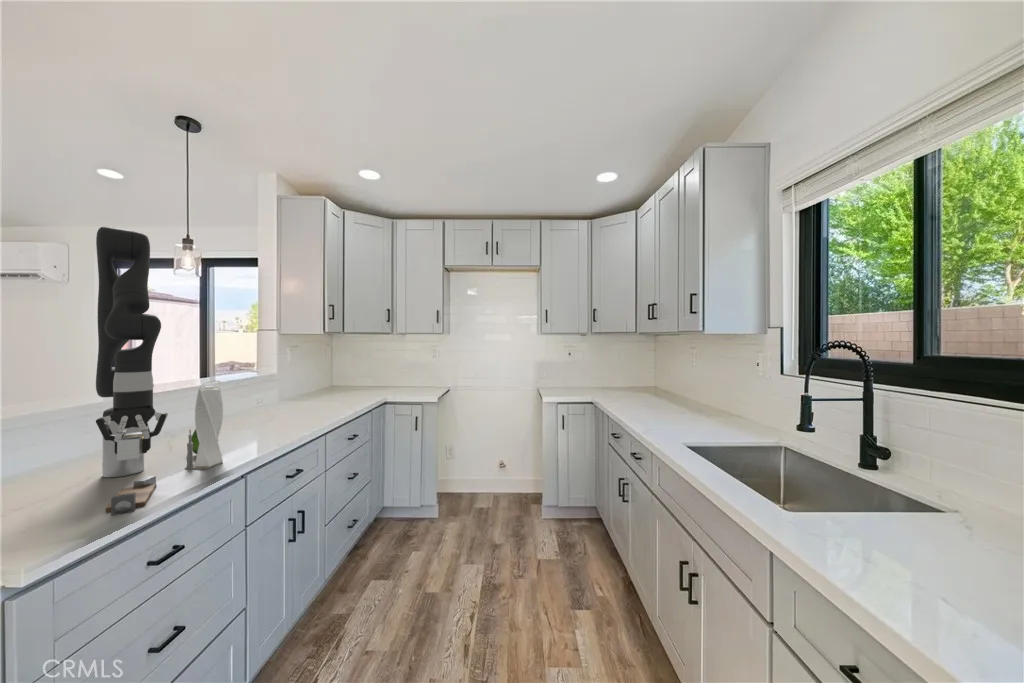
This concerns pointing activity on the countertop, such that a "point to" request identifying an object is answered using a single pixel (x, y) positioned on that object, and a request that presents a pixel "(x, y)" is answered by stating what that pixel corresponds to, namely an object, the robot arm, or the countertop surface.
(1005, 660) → the countertop surface
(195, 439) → the avocado
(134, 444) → the gray and yellow block
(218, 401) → the skyscraper
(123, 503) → the coupling stand
